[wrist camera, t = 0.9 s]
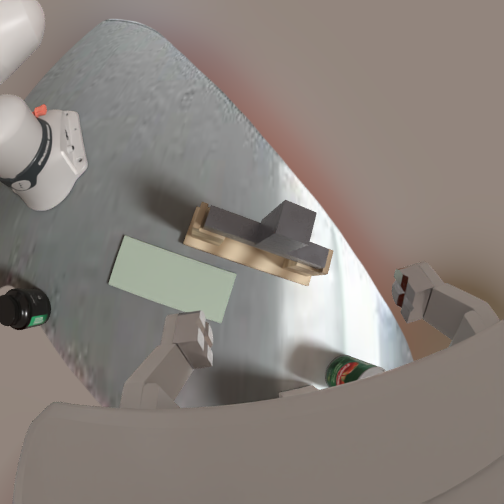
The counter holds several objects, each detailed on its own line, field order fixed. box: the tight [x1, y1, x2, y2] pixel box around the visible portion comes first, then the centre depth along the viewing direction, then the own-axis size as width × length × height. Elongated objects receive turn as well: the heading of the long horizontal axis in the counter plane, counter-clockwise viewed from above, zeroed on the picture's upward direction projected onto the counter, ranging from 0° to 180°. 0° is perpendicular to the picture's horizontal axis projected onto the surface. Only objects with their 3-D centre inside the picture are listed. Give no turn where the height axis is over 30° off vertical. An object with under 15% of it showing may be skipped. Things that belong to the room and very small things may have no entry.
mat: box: [109, 236, 236, 323], centre depth 47 cm, size 21×9×1 cm, turn 72°
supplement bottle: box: [0, 289, 51, 330], centre depth 35 cm, size 7×7×12 cm
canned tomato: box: [325, 355, 385, 387], centre depth 47 cm, size 8×8×11 cm
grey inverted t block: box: [203, 200, 329, 269], centre depth 37 cm, size 19×4×13 cm, turn 72°
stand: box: [183, 202, 333, 286], centre depth 47 cm, size 24×7×10 cm, turn 72°
